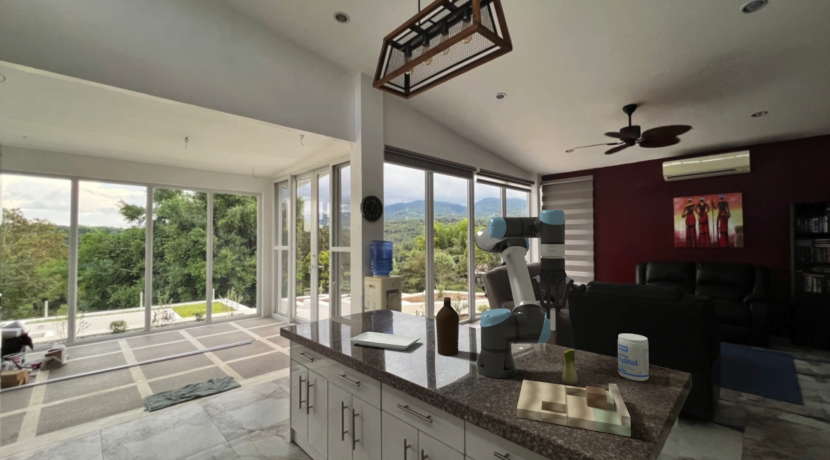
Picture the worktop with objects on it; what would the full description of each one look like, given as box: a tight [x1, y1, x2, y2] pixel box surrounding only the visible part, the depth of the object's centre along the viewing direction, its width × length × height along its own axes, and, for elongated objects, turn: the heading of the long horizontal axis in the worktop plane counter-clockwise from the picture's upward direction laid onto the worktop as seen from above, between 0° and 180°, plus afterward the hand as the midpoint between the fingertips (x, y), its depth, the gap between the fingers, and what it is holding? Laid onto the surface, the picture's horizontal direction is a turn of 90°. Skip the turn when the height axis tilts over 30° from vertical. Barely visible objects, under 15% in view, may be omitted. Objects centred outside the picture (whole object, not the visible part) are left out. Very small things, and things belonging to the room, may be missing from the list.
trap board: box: [516, 379, 632, 437], centre depth 104 cm, size 28×22×5 cm
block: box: [585, 385, 607, 410], centre depth 101 cm, size 5×5×4 cm
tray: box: [349, 331, 421, 351], centre depth 171 cm, size 17×31×4 cm, turn 66°
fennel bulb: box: [561, 349, 579, 387], centre depth 121 cm, size 6×5×12 cm
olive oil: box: [435, 296, 460, 357], centre depth 158 cm, size 11×11×25 cm
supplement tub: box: [617, 333, 650, 382], centre depth 128 cm, size 10×10×15 cm
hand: (552, 329), depth 113 cm, fingers closed
